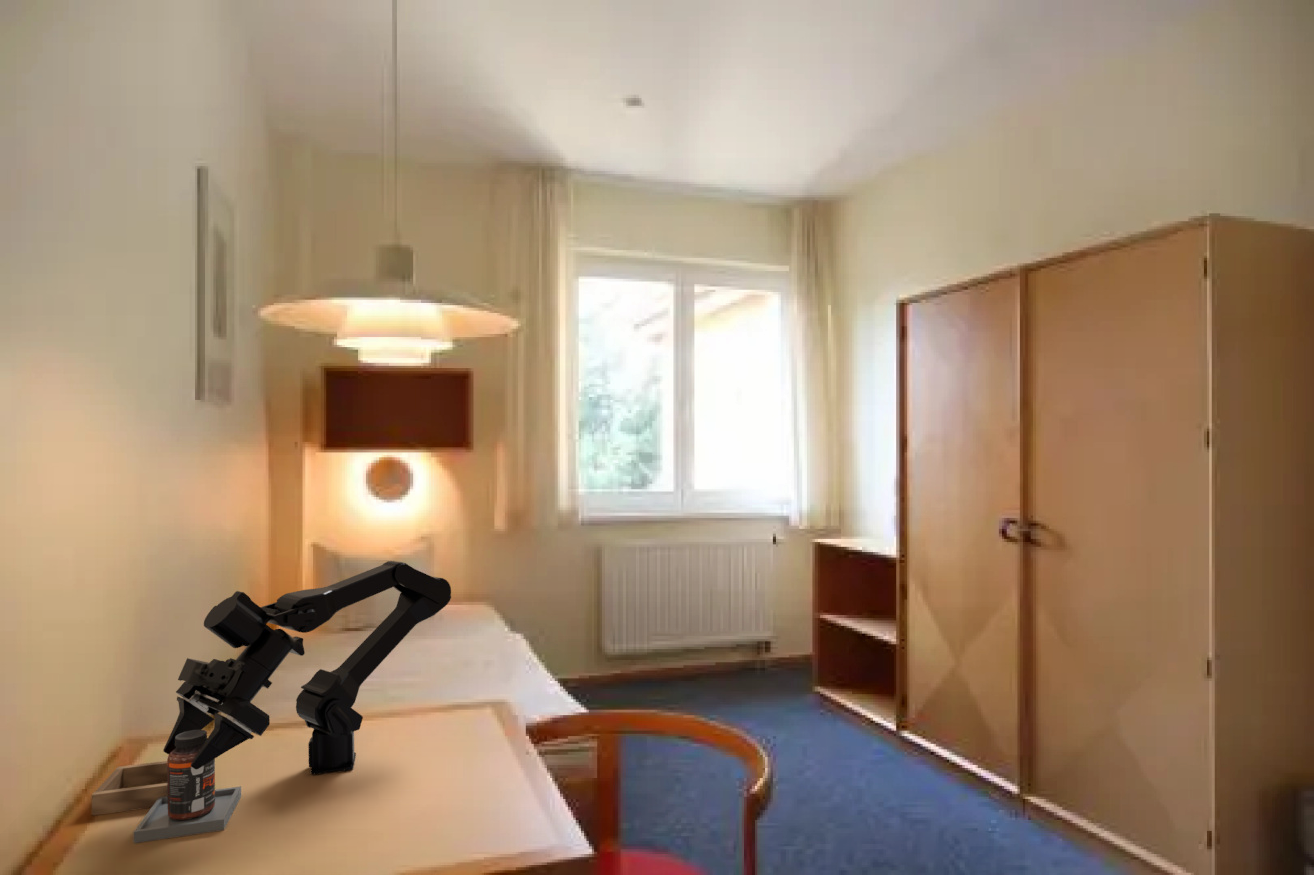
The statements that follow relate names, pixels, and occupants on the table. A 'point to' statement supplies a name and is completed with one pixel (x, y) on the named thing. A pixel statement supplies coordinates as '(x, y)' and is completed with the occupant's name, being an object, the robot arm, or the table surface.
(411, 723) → the table surface
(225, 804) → the slate tray
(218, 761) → the table surface
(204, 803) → the supplement bottle
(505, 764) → the table surface
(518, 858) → the table surface
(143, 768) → the walnut collar
